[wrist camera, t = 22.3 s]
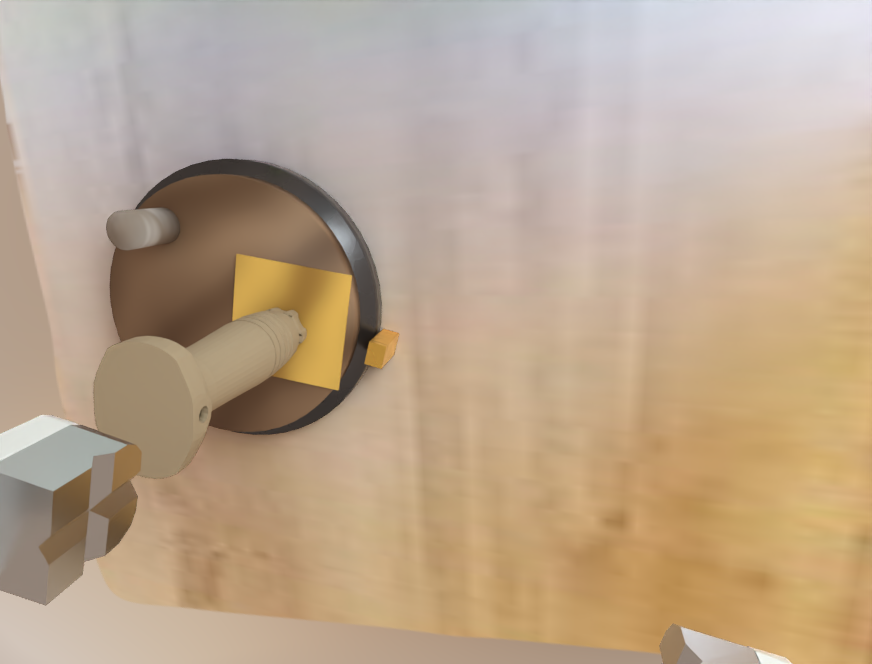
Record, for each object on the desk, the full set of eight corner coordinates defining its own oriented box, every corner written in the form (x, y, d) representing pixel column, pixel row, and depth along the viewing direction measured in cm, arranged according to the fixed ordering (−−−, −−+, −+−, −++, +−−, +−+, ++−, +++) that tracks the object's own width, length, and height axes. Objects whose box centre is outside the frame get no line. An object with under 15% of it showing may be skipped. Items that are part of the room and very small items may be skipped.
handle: (251, 368, 42) (97, 467, 28) (254, 277, 40) (90, 333, 26) (317, 379, 41) (193, 487, 27) (322, 287, 40) (193, 351, 25)
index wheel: (411, 340, 41) (391, 364, 36) (228, 465, 47) (187, 501, 41) (250, 117, 40) (204, 108, 34) (78, 273, 45) (15, 285, 40)
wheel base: (141, 128, 43) (107, 124, 40) (429, 205, 41) (418, 208, 37) (117, 383, 49) (85, 399, 45) (368, 464, 46) (353, 487, 43)
